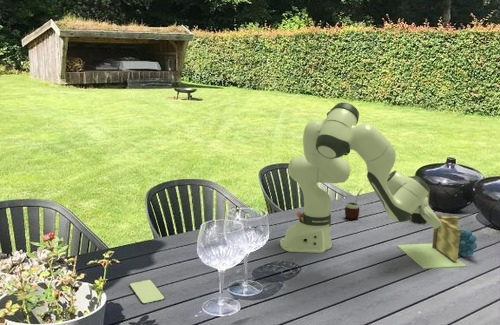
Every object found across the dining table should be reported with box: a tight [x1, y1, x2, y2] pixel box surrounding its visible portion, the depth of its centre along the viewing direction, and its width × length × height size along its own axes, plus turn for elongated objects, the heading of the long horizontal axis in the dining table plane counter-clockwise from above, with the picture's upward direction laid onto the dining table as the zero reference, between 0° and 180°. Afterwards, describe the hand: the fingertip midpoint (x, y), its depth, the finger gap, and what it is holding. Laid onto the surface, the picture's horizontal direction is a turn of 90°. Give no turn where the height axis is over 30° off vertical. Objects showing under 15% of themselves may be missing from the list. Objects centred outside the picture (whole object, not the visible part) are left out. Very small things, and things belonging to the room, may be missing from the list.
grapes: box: [458, 229, 478, 258], centre depth 210 cm, size 12×7×12 cm, turn 22°
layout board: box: [396, 242, 467, 270], centre depth 211 cm, size 18×24×1 cm
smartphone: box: [129, 279, 166, 305], centre depth 176 cm, size 8×1×16 cm
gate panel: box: [436, 219, 462, 261], centre depth 209 cm, size 14×2×13 cm, turn 10°
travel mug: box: [410, 180, 431, 225], centre depth 252 cm, size 8×8×20 cm
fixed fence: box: [432, 213, 460, 249], centre depth 218 cm, size 10×2×15 cm, turn 99°
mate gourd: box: [344, 188, 363, 222], centre depth 255 cm, size 8×8×15 cm
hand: (439, 224), depth 207 cm, fingers closed
